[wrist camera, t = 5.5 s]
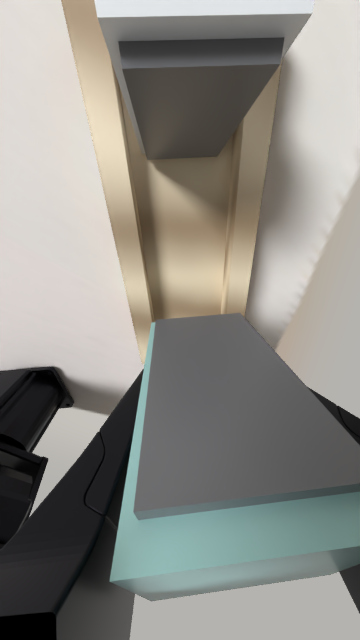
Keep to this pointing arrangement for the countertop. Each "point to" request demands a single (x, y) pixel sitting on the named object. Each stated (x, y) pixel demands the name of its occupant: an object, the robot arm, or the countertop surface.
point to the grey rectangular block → (195, 65)
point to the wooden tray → (172, 196)
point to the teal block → (231, 469)
